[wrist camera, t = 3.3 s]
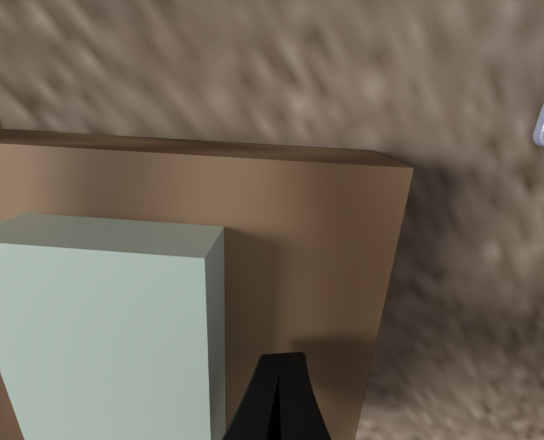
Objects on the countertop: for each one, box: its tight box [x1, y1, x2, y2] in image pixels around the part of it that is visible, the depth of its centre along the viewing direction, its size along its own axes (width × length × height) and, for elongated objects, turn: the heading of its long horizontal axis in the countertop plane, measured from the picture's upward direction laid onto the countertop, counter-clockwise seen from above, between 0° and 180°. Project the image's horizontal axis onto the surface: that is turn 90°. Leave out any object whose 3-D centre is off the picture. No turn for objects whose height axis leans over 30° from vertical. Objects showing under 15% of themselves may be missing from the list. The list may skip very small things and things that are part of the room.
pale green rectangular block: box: [0, 213, 226, 440], centre depth 9 cm, size 6×9×2 cm, turn 177°
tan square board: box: [0, 129, 414, 440], centre depth 12 cm, size 15×13×4 cm
